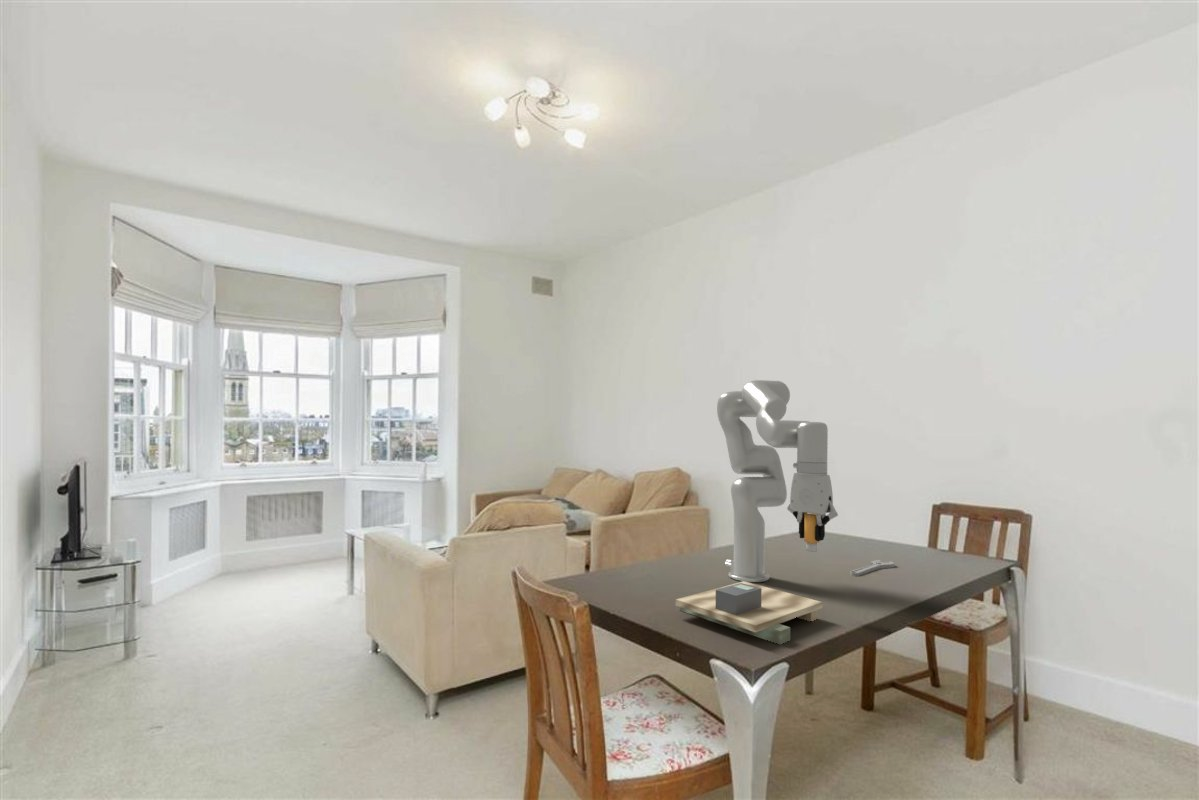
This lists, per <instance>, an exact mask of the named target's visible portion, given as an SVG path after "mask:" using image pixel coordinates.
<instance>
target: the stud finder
mask: <svg viewBox="0 0 1199 800" xmlns="http://www.w3.org/2000/svg"><path fill="white" fill-rule="evenodd" d="M738 583H739V582H738ZM761 591H762V588H758V587H754V586H751V585H747V584H743V583H739V584H736V585H732V586H728V587H725V588H721V589H717V590H716V609H718V610H721V611H724V612H727V613H730V614H733V615H738V614H742V613H745V612H748V611H751V610H754V609H757V608H760V607H761Z"/></svg>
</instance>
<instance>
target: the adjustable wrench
mask: <svg viewBox="0 0 1199 800" xmlns="http://www.w3.org/2000/svg"><path fill="white" fill-rule="evenodd" d="M894 567H895V563H894V562H893V561H890V560H889V562H883V561H882V560H881V559H876V560H871V561H870V564H869V565H865V566H863V567H859V568H856V569H853V570H850V571H849V576H851V575H852V577H859V576H863V575H865V574H868V573H871V572H873V571H876V570H880V569H891V568H894Z"/></svg>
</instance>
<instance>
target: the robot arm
mask: <svg viewBox="0 0 1199 800" xmlns="http://www.w3.org/2000/svg"><path fill="white" fill-rule="evenodd" d="M790 397H791V393H790V389H789V387H788V386H787V384H786V383H784V382H783V381H780V380H762V379H757V380H755V379H754V380H751V381H749V382H746V383H745V384H744V386H743V387H742V390H741V391H739V390H734V391H728V392H723V394H721V395H720V396H719V398H718V400H717V404H716V412H717V413H716V414H717V419H718V422H719V424H720V426H721V428H722V431H723V434H724V436H725V442H726V448H727V452H728V457H729V463H730V466H731V469H732V471H733V473H735V474H738V475H739V474H740V475H762V476H743V477H739V478H737V479H735V480H734V481H733V482H732V484H731V487H730V494H731V501H732V507H733V559H730V558H727V559H726V560H725V562H724V566H725V567H730V570H729V571H728V577H730V578H731V579H733V580H735V581H739V582H742V581H745V582H749V583H761V582H762V583H764V582H767V581H768V580H770V574H769V573H768V572H766V571H765V558H766V557H765V555H766V554H765V548H766V547H765V546H766V545H765V543H766V542H765V541H766V539H765V535H766V534H765V533H766V531H765V529H766V527H765V526H766V525H765V524H766V522H765V519H764V517H763V515H762V513H761V512H760V511H759V509H758V508H774V507H780V506H782V505H784V504H785V503H786V501H787V497H788V492H787V484H786V480H785V475H784V471H783V466H782V463H781V458H780V455H779V453H778V452H777V450H776V449H797V450H796V451H797V452H796V458H797V459H796V462H793V465H792V467H793V469H796V472H794V473H793V477H792V482H791V487H790V496H789V497H790V499H789V504H788V506H787V508H786V509H787V511H789V512H790V513H791V514H792V515H793V516H794V517H795V519H796V521H797V523H798V534H799V538H800V539H804V514H806V513H812V514H816V518H817V525H816V526H815V540H816V541H819V542H821V541H823V540H824V539H825V537H826V536H825V535H826V533H825V532H826V529H825V528H826V525H827V524H828V523H829V522H830V521H831V520H833V519H834V518H837V517H838V516H839V514H838V512H837V511H836V508H835V506H834V497H833V496H834V495H833V487H832V480H831V477H830V475H829V474H828V445H829V444H828V436H829V435H828V431H829V428H828V424H826V423H824V422H821V421H809V420H808V421H807V420H790V419H789V420H786V419H785V420H783V418H784V416H785V415H786V412H787V405H788V404H789V401H790ZM741 418H756V420H755V421H756V422H755V425H756V430H757V433H758V435H759V437H760V438H761V439H762V440H763V441H764V442H765V443H766V444H767V445H762V444H761V445H759V444H757V445H756V444H755V442H754V438H753V434H752V432H751V430H750V428H749V426H748V425H747V424H746V423H745V422H744V421H743V420H742V419H741ZM828 513H829V514H828Z"/></svg>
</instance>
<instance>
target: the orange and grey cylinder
mask: <svg viewBox="0 0 1199 800" xmlns="http://www.w3.org/2000/svg"><path fill="white" fill-rule="evenodd" d="M816 525H817V518H816V514H813V513H806V514H804V538H803V542H805V543H806V546H805V550H806V552H808V553H809V552H810V553H817V552H818V543H820V541H816V540H815V526H816Z"/></svg>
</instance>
